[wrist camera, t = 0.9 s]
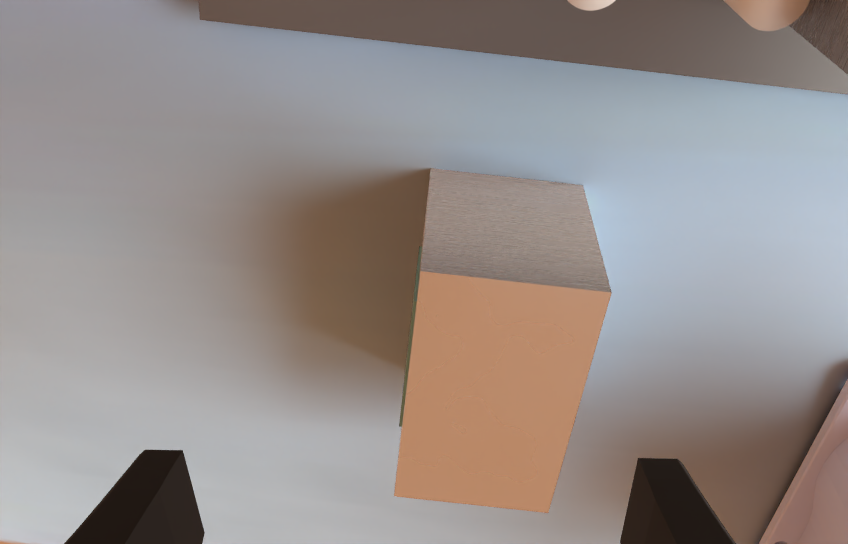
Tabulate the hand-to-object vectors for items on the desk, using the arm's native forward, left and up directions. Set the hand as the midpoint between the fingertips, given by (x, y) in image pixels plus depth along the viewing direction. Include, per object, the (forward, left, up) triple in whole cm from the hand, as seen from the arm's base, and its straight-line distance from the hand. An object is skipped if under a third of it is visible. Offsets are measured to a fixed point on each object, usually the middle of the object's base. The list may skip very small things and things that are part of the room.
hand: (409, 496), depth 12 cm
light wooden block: (-3, -2, -10) cm, 10 cm away
